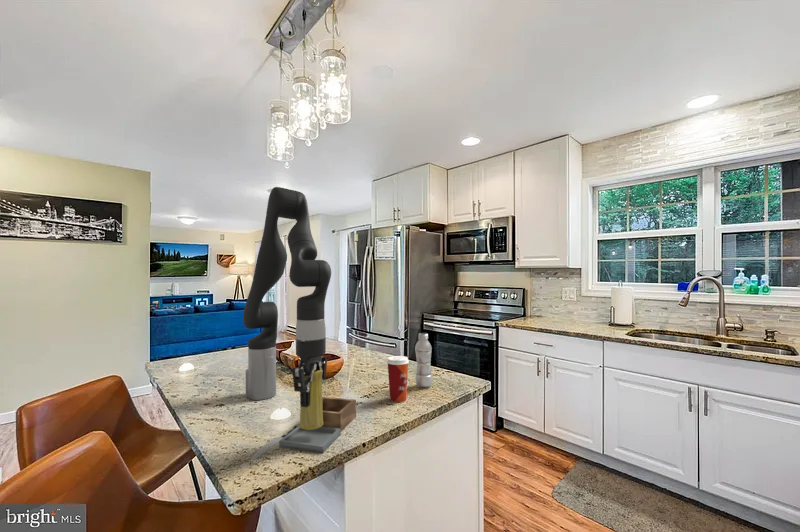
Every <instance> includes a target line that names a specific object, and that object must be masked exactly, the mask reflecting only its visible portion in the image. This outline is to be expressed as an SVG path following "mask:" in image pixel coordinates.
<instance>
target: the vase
mask: <svg viewBox="0 0 800 532" xmlns="http://www.w3.org/2000/svg"><path fill="white" fill-rule="evenodd" d="M322 372H323V370H321V368H320V370H319V371H316V372H313V382H312V383H311V384H310V390H309V391H310V405H309V406H308V407H301V406H300V409H299V410H300V411H299V424H298V426H299V427H300V428H301V429H303V430H314V429H318V428H320V427H321V426H322V425H323V424H324V422H323V406H322V397H323V392H322V391H323V387H322V386H323V385H322V384H323V382H322ZM304 377H305V379H308V378H309V377H310V376H304ZM306 384H307V382H305V386H306Z"/></svg>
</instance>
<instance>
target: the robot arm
mask: <svg viewBox="0 0 800 532" xmlns="http://www.w3.org/2000/svg"><path fill="white" fill-rule="evenodd" d="M266 207H267V208H266V212H265V220H264V227H263V233H262V238H261V242H260V246H259V250H258V253H257V257H256V262H255V266H254V267H255V268H254V271H253V276H252V277H253V278H252V283H251V287H250V289H249V292H248V296H247V299H246V302H245V305H244V308H243V313H242V322H243V325H244V327H245V328H246V329H249V330H255V329H256V330H257V329H262V331H261V332H260V333H259V334H258V335H256V336H254V337H251V338H250V339H249V340H248V343H247V352H248V354H247V357H248V358H247V360H248V362H247V366H248V367H247V369H246V370H245V398H248V399H249V400H253V401H262V400H266V399H267V400H268V399H270V398H273V397H274V396H277V340H278V323H279V322H278V321H279V313H278V312H279V309H278V306H277V304H276V303H275V301H263V299H264V297H265V295H266V294H267V293H268V292H269V291H270V290H271V289H272V288H273V287H274V286H275V285H276V284H277V283H278V282H279V281H280V279H281V278H282V277H283V275H284V272H285V269H286V264H287V261H288V252H287V250H286V247H285V245H284V243H283V241H282V240H283V239H281V236H280V233H279V228H278V220H279V218H281V219H289V220H296V222H295V224H294V225H293V226H292V227H291V228H290V230H289V232H288V234H287V245H288V248H289V252H290V253H289V254H290V257H291V261H290V268H289V280H290V283H291V284H292V285H294V286H295V287H299V288H305V287H306V288H307V287H308V288H311V287H312V288H313V287H315V288H314V289H313V292H312V293H310V294H308V295H304V296H300V297H298V299H297V301H296V324H295V325H296V326H295V355H296V356H297V357H298V358H300V360H299V361H300V362H299V365H298V367H293V369H292V371H291V372H292V380H293V382H292V383H293V389H294V392H299V395H300V396H299V399H300V401H299V403H300V404H299V405H300V407H308V406H309V405H310V391H309V390H310V384H311V383H312V382H313V372H316V371H319V370H320V368H321V370H322V383H323V382H324V380H326V379H327V378H326V377H327V368H328V367H327V366H328V357H327V356H324V355H325V354H326V351H327V350H326V349H327V347H326V346H327V345H326V343H327V342H326V341H327V339H326V338H327V337H326V330H327V329H326V328H327V327H326V323H325V321H326V320H325V306H326V305H325V303H326V296H327V293H328V289H329V285H330V282H331V277H332V269H331V266H330V264H329V262H328V261H326V260H323V259H317V257H318V250H317V247H316V244H315V240H314V238H313V235H312V230H311V222H310V221H311V220H310V215H309V214H310V213H309V207H308V201H307V198H306V196H305V194H304V193H303V192H301V191H298V190H294V189H289V188H285V187H280V186H274V187H273V188H272V189H271V190H270V193H269V195H268V200H267V206H266ZM304 376H310V377H309V378H308V379H305V377H304ZM305 382H307V384H306V386H305Z"/></svg>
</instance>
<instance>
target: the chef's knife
mask: <svg viewBox="0 0 800 532" xmlns="http://www.w3.org/2000/svg"><path fill="white" fill-rule="evenodd" d="M298 426H299V425H294V426H293V427H292V429H290V430H289V431H288V432H286V433H284V434H282V435H281V436H279V437H273V438H272V439H270V440H269V441H268V442H266V444H264V445H263V446H261V447H260V448H259V449H258V450H257V451H256V452H255V453H254V455H253V456H252V459H251V461H254V460H256V459H257V458H258V457H261V455H263V454H265V453H267V451H269V450H270V449H272V448H273V447H275V446H276V445H279V441H280V440H281V439H282V438H284V437H285V436H286V435H288V434H289V433H290V432H291V431H293V430H294V429H295V428H297V427H298Z"/></svg>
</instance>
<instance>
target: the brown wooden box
mask: <svg viewBox="0 0 800 532" xmlns="http://www.w3.org/2000/svg"><path fill="white" fill-rule="evenodd" d="M322 406H323V422H324V424H323V425H322V426H321V427H330V428H339V429H341V433H342V432H343V431H344V430H345V427H346V426H348V425H350V424H351V423H352V422H353V421H354V419H356V417H357V399H352V398H340V397H332V396H331V397H330V396H322ZM346 428H347V427H346Z"/></svg>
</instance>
